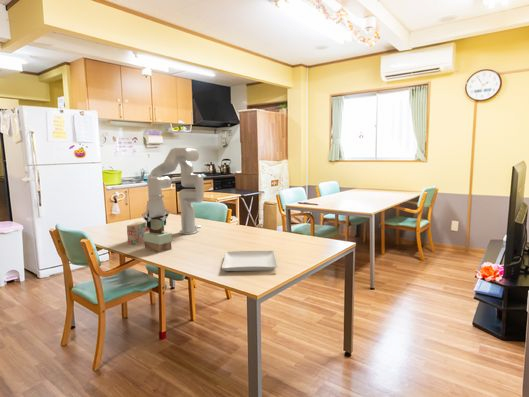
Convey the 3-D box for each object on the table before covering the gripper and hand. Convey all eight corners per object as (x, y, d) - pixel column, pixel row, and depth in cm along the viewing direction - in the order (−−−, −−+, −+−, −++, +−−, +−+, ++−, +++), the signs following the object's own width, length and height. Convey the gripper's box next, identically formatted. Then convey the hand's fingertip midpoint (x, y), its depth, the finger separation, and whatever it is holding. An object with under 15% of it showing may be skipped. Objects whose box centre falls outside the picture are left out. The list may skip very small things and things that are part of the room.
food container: (170, 231, 205) (169, 215, 203) (163, 234, 199) (162, 218, 197) (154, 229, 209) (153, 214, 208) (147, 232, 204) (146, 216, 202)
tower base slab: (157, 245, 213) (157, 237, 212) (171, 249, 203) (171, 241, 202) (144, 248, 206) (144, 240, 205) (158, 253, 196) (157, 244, 195)
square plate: (274, 256, 189) (274, 249, 189) (277, 273, 162) (277, 265, 162) (225, 257, 188) (225, 250, 188) (221, 274, 161) (221, 266, 161)
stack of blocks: (146, 236, 236) (145, 218, 234) (154, 236, 234) (153, 219, 233) (127, 244, 215) (126, 225, 213) (136, 244, 214) (135, 225, 212)
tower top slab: (156, 237, 211) (155, 229, 211) (172, 241, 203) (171, 233, 202) (143, 240, 204) (143, 232, 204) (159, 244, 196) (159, 236, 195)
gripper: (165, 196, 209) (166, 223, 211) (138, 199, 196) (139, 227, 199) (171, 197, 203) (172, 225, 206) (144, 200, 191) (146, 229, 193)
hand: (156, 226), depth 202 cm, fingers open, 9 cm apart
